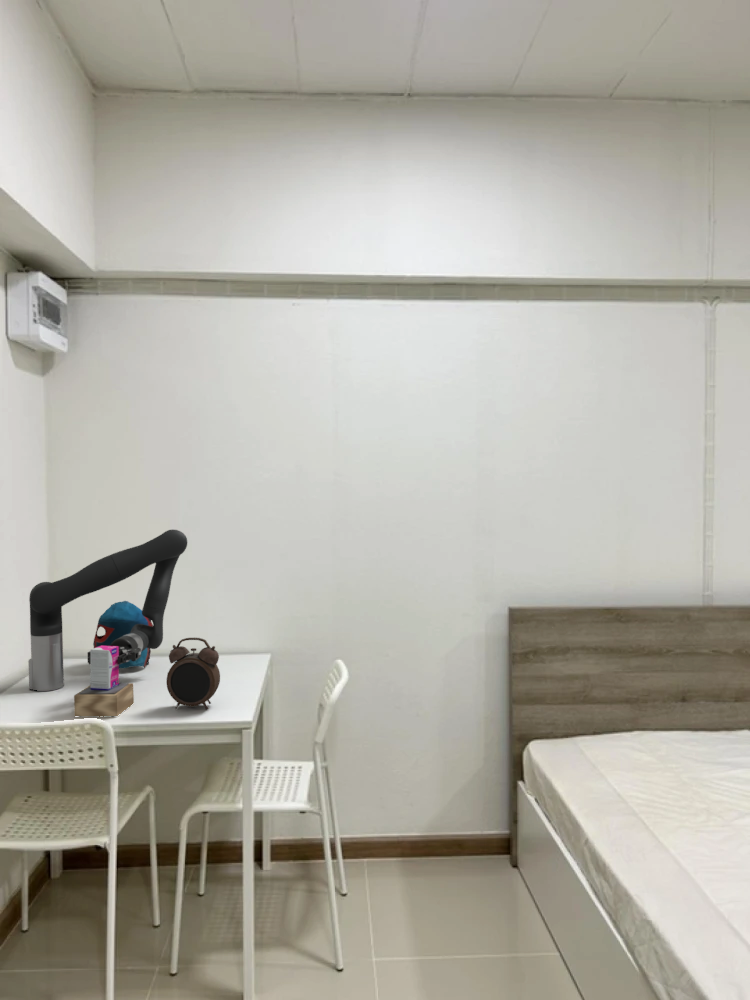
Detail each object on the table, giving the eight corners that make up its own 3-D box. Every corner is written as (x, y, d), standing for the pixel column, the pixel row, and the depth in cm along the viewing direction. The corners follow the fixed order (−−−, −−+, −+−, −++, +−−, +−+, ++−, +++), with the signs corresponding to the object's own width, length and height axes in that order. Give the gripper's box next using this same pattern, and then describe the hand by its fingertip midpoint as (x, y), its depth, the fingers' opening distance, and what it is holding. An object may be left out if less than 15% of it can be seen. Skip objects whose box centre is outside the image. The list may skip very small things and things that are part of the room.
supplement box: (109, 691, 205) (108, 650, 204) (89, 690, 206) (88, 649, 205) (120, 685, 210) (119, 645, 210) (101, 684, 211) (100, 645, 211)
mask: (102, 688, 255) (73, 622, 256) (153, 663, 268) (126, 600, 269) (119, 681, 242) (89, 611, 243) (172, 655, 255) (143, 589, 256)
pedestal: (74, 717, 202) (74, 694, 202) (93, 703, 214) (92, 682, 214) (117, 717, 202) (116, 694, 202) (133, 703, 214) (133, 681, 214)
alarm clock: (164, 712, 206) (163, 641, 205) (173, 704, 213) (171, 635, 212) (215, 712, 205) (214, 640, 204) (222, 704, 212) (221, 635, 212)
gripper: (103, 635, 225) (79, 647, 209) (149, 635, 224) (128, 647, 208) (104, 659, 225) (80, 673, 209) (149, 659, 224) (129, 673, 208)
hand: (104, 660), depth 209 cm, fingers open, 8 cm apart
